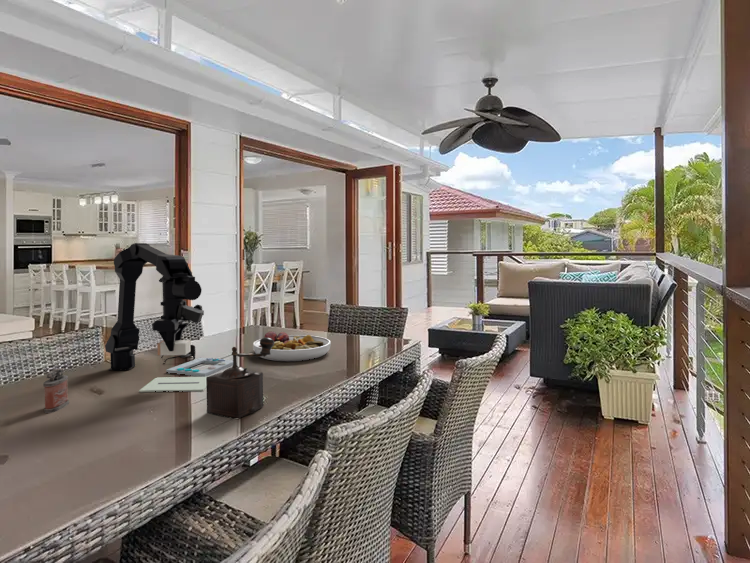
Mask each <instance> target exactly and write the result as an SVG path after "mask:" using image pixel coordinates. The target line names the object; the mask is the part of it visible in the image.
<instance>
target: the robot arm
mask: <svg viewBox="0 0 750 563" xmlns="http://www.w3.org/2000/svg"><path fill="white" fill-rule="evenodd" d="M147 263H150V264H151V265H153V266H154V267H155V271H157V272H158V274H160V275H161V276H162V277H160V278H159V279H158V282H159V283H161V284H162V285H161V286H162V301H161V302H160V306H161V307H162V315H161V316H160V318H159V319H156V320H154V322H152V323H151V326H152V328H151V331H153V332H155V331H156V332H158V334H159V335H160V337H161V339H162V341H163V340H164V342H165V344H166V346H167V348H168V350H169V351H173V350H174V344H175V340H182V337H183V332H184V330H185V329H186V328H187V327H188V326H189V325H190V323H191V322H192V323H195V324H197V323H199V322H201V320H202V319H203V316H204V314H205V310H203V305H201V304H195V306H189V305H187V300H188V301H195V300H197V299H199V298H200V296H201V294H202V292H203V291H202V289H203V288H202V286H201V285H200V283H199V282H198V281H197V280H196V276H194V275H193V272H192V270H191V269H190V267H189V264H188V262H187V260H186V259H185V257H184V256H182V255H178V254H169V253H165V252H164V251H161V250H159V249H157V248H155V247H153V246H151V245H150V244H149V243H146V242H140V243H139V242H135V243H131V244H130V246H129V247H127V248H125V249H123V250H121V251H119V252H118V254H117V255H116V256H115V257H114V259H113V266H114V272H115V274H116V275H117V277H118V279H119V287H118V302H117V303H118V304H117V305H118V307H117V319H116V320H117V321H116V322H115V324H114V325H113V327H112V328H111V331H110V335H109V338H108V339H107V341H106V343H105V345H104V348H105V352H106V353H109V354H110V355H109V356H110V367H109V368H108V371H110V370H113V371H130V370H131V369H133V368H134V367H136V366H135V365H136V360H135V359H136V354H135V353H134V350H135V351H136V350H138V347H139V341H140V329H139V328H138V327H137V326H136V324H135V323H134V322H135V321H134V320H135V319H134V318H135V309H136V308H135V307H136V306H135V305H136V290H137V281H138V279H140V277H141V276H142V274H143V270H144V266H145V265H146V264H147ZM186 321H187V322H188V323H187V322H186ZM132 367H133V368H132ZM129 369H130V370H129Z"/></svg>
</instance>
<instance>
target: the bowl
mask: <svg viewBox="0 0 750 563" xmlns="http://www.w3.org/2000/svg"><path fill="white" fill-rule="evenodd" d="M264 337H267V338H271V339H273V340H274V346H273V347H272V348H271V350H270V353H271V355H267V356H265V357H264V356H260V357H259V358H262V359H264V360H269V361H275V362H300V361H302V360H303V361H308V360H309V359H310V360H314V358H315V359H319V358H321V357H323V356H324V355H326V354H327V353H328V352H329V350H330V349H331V340H330V339H328V338H326V337H322V336H315V335H311V334H307V335H306V334H305V335H301V334H299V335H298V334H294V335H293V334H291V335H288V334H287V333H286V332H285V331H283V332H282V331H281V332H280V333H278V334H277V333H276V332H275V331H268V332H266V333H265V334H264V336H263V338H264ZM261 339H262V338H260V339H257V340H254V341H253V343H252V349H253V351H254V354H260V352H261V350H262V347H261V345H260V340H261ZM303 361H302V362H303Z"/></svg>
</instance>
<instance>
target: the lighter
mask: <svg viewBox="0 0 750 563" xmlns="http://www.w3.org/2000/svg"><path fill="white" fill-rule="evenodd" d="M46 379H47V380H46V381H44V382H43V384H42V385H43V387H44V408H43V410H44V413H46V414H50V413H54V412H58V411H60V410H61V409H64V408H65V407H67V406H68V405H69V403H70V400H69V397H68V396H69V395H68V379H69V376H68V374H67V375H65V374H64V368H53V369H52V370H51V371H49V372H47V373H46Z"/></svg>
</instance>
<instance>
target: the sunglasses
mask: <svg viewBox="0 0 750 563" xmlns="http://www.w3.org/2000/svg"><path fill="white" fill-rule="evenodd" d="M190 347H191V351H190V352H189V353H188V354H186V355H175V356H172V357H167V358H166V359H165V360H164V361H163V362H165V363H166V362H167V361H168V360H170V359H176V358H183V359H184V358H188V357H189V356H193V357H192V360H194V359H196V346H195V345H194V344H190ZM164 356H165V355H161V358H162V359H163V357H164ZM161 358H160V359H161Z"/></svg>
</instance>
